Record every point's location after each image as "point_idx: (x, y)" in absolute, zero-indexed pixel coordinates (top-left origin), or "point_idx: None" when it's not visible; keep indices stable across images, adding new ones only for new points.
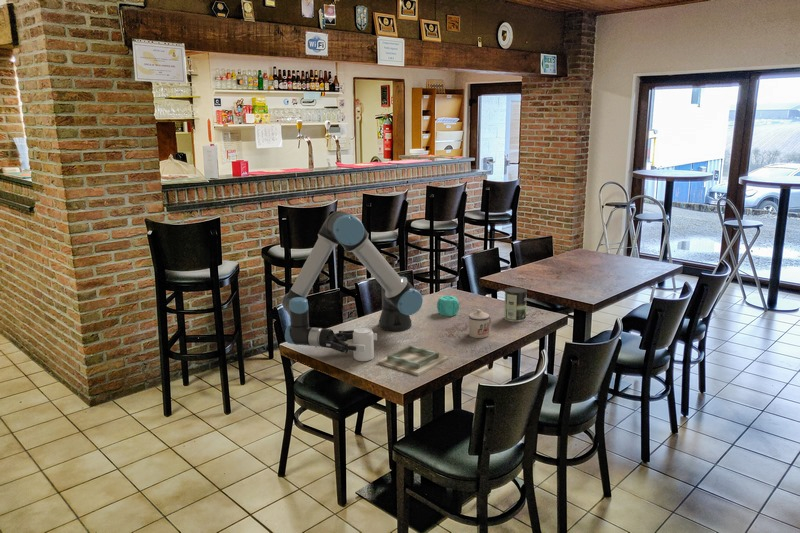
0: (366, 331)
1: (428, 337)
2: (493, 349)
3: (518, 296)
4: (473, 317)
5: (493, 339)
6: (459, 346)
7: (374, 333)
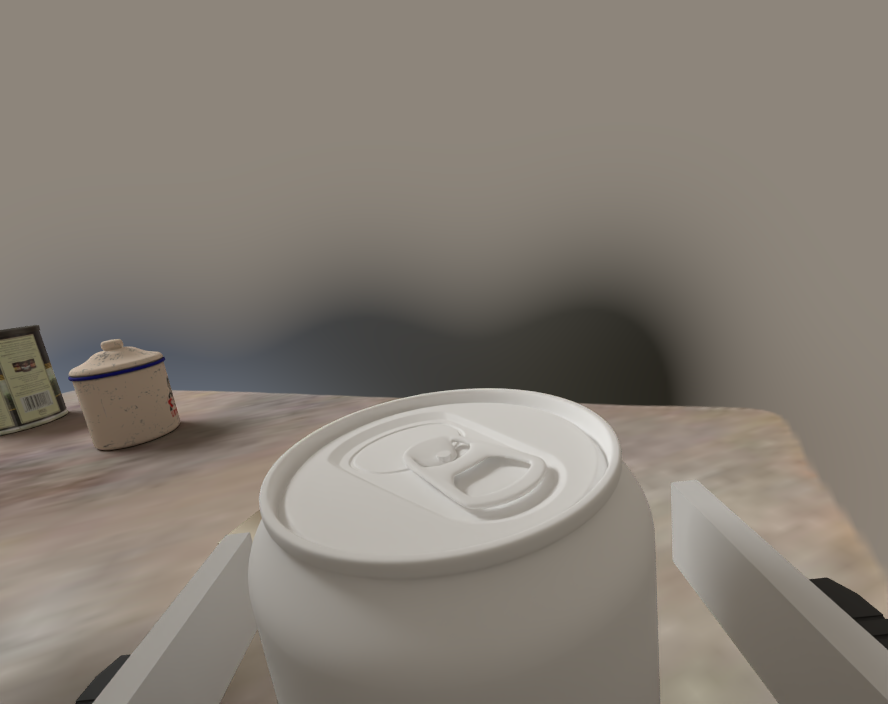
0: (449, 429)
1: (56, 536)
2: (291, 395)
3: (37, 337)
4: (138, 360)
5: (203, 410)
6: (247, 437)
7: (222, 553)
